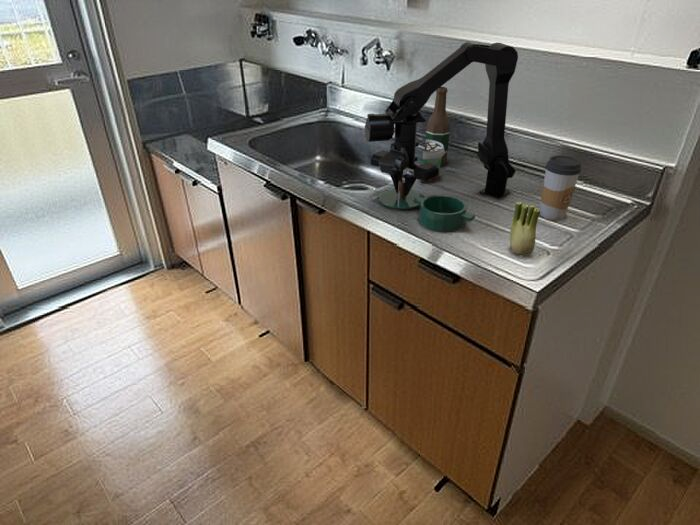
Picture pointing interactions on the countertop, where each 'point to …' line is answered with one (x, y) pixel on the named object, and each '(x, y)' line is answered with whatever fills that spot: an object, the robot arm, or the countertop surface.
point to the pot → (443, 213)
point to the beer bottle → (439, 123)
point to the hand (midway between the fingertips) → (402, 194)
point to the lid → (399, 197)
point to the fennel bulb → (523, 229)
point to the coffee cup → (559, 186)
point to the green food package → (433, 155)
